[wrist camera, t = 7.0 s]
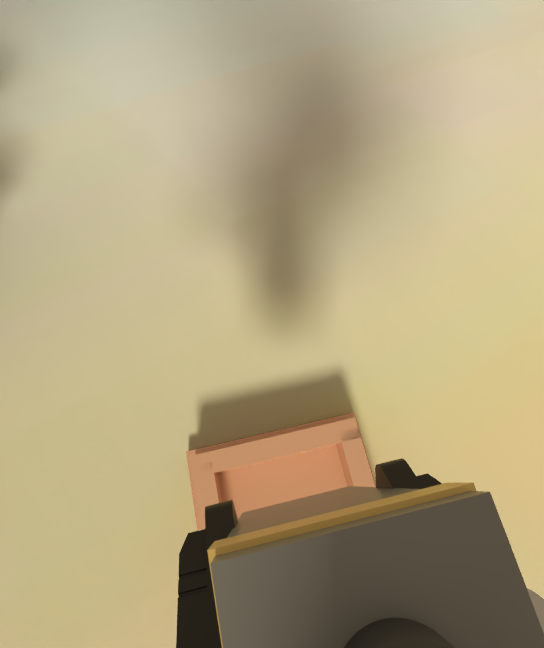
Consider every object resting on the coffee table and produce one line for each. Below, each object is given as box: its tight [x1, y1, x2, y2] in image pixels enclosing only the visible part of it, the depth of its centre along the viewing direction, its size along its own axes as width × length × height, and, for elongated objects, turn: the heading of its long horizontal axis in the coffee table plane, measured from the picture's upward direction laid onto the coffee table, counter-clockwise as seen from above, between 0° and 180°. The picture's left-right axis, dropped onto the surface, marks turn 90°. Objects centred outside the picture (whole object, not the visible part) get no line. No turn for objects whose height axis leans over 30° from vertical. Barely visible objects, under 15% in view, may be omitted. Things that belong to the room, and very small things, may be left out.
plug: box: [207, 483, 544, 648], centre depth 9 cm, size 4×4×12 cm
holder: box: [186, 412, 376, 531], centre depth 24 cm, size 11×11×3 cm
